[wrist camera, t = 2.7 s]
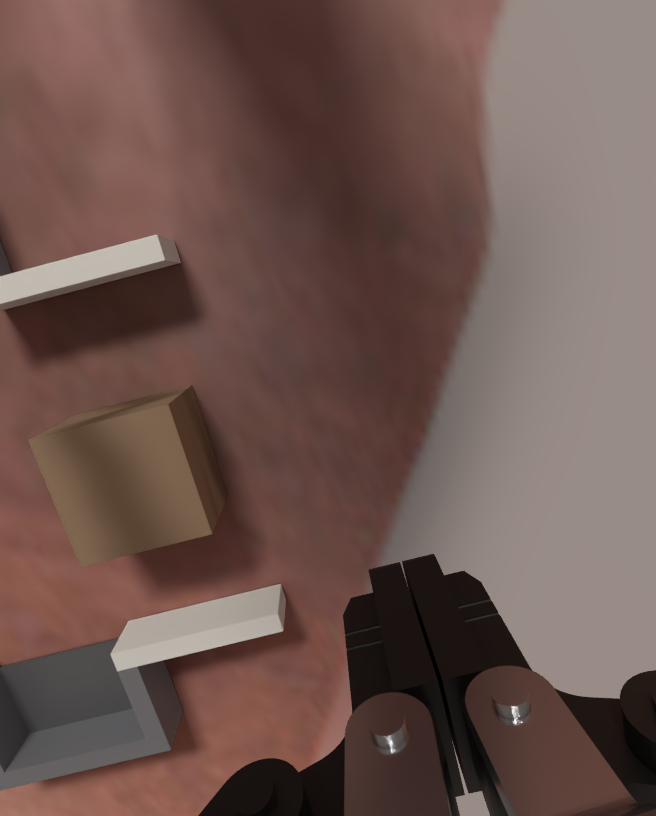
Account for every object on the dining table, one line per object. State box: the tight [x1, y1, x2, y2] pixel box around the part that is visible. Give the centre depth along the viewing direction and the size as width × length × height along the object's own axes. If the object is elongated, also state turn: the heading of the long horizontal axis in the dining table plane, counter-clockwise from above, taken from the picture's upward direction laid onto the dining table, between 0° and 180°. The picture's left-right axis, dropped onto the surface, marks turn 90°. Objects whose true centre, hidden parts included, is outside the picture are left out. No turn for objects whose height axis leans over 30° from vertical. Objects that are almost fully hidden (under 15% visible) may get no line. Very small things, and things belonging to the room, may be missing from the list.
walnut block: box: [28, 385, 228, 567], centre depth 27 cm, size 7×7×5 cm
